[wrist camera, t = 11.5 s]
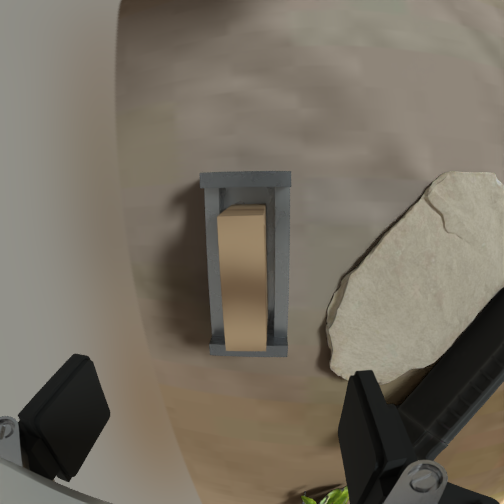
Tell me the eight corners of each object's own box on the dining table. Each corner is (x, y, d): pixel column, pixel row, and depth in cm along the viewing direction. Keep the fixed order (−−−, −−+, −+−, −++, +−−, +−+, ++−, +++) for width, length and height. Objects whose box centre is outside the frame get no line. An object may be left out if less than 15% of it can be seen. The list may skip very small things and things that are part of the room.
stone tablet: (530, 241, 28) (542, 245, 25) (367, 398, 34) (372, 410, 31) (476, 131, 25) (489, 130, 23) (282, 313, 32) (282, 324, 29)
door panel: (231, 204, 28) (216, 216, 20) (266, 203, 28) (264, 215, 20) (236, 307, 30) (225, 350, 23) (268, 307, 30) (266, 351, 22)
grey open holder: (211, 172, 28) (199, 173, 23) (287, 171, 28) (291, 171, 23) (218, 330, 32) (210, 355, 27) (285, 331, 32) (287, 356, 27)
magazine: (581, 247, 18) (441, 506, 16) (586, 265, 19) (453, 508, 17) (486, 246, 35) (369, 428, 33) (495, 260, 36) (383, 436, 34)
